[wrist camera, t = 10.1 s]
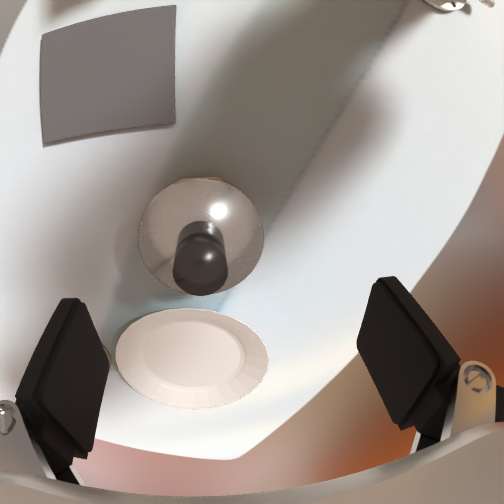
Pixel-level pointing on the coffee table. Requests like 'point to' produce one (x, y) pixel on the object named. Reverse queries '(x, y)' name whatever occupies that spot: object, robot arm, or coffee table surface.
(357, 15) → the coffee table surface
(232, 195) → the lid
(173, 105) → the mat
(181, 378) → the plate
